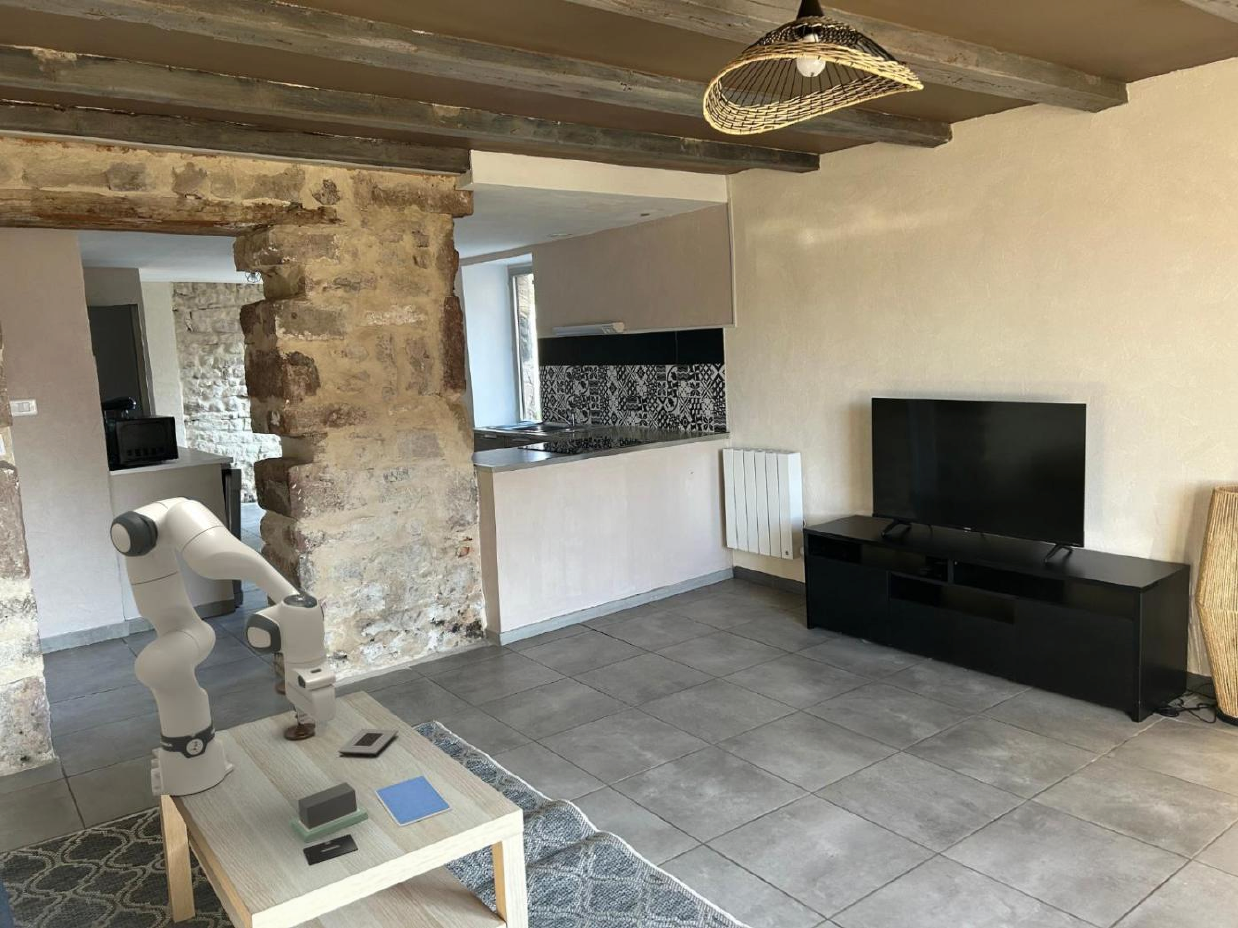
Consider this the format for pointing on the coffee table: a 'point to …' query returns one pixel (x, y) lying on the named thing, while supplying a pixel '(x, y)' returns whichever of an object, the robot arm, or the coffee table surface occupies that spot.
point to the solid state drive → (330, 849)
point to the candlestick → (300, 729)
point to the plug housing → (327, 805)
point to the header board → (328, 825)
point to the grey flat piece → (368, 741)
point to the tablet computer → (412, 801)
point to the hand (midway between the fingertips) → (311, 728)
